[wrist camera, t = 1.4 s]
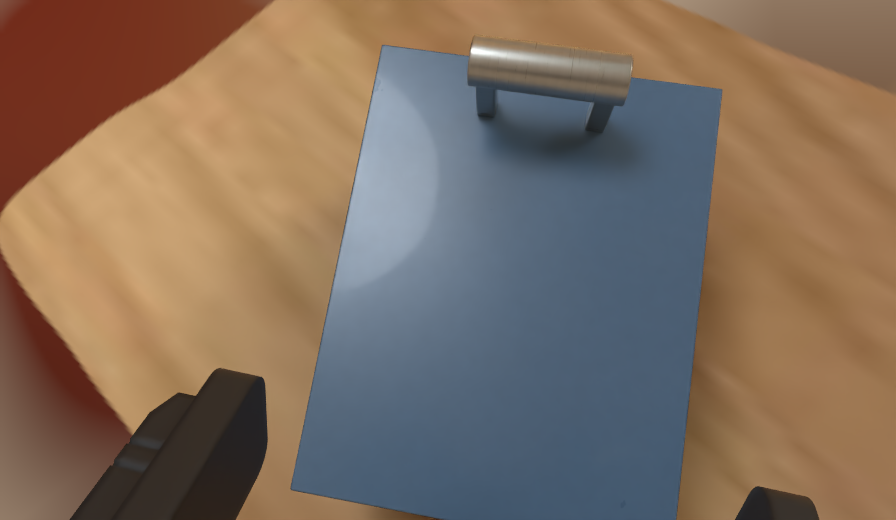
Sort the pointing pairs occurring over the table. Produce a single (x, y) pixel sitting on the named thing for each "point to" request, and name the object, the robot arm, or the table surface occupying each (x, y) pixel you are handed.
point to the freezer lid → (515, 289)
